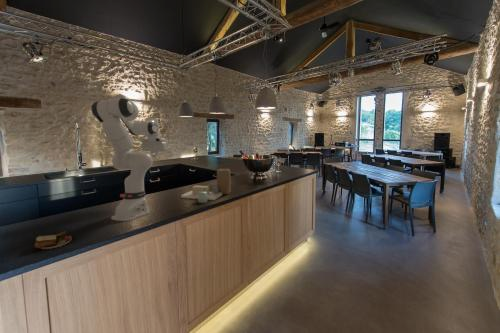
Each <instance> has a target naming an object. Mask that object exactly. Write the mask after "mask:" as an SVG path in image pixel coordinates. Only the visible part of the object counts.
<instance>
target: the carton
mask: <svg viewBox="0 0 500 333" xmlns="http://www.w3.org/2000/svg"><path fill="white" fill-rule="evenodd" d="M191 191H192V194H195V195H198V192H200V191H206V192H207V194H209V192H210V185H198V184H197V185H196V184H195V185H193V186H192V187H191Z"/></svg>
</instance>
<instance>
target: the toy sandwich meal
mask: <svg viewBox="0 0 500 333" xmlns="http://www.w3.org/2000/svg"><path fill="white" fill-rule="evenodd" d="M65 234H66V231H63V232H60V233H57V234H50V235H38V236H37V237H36V238H35V242H34V244H33V245H34V247H35V249H41V250H52V249H53V248H54V249H57V247H58V248H62V247H64V246H66V245H68V244H69V243H70V242H71V241H72V236H71V235H68V236H67V235H65ZM67 243H68V244H67ZM65 244H66V245H65ZM63 245H64V246H63ZM54 249H53V250H54Z"/></svg>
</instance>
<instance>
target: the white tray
mask: <svg viewBox="0 0 500 333" xmlns="http://www.w3.org/2000/svg"><path fill="white" fill-rule="evenodd" d="M221 196H223V194H222V193H220V192H219V193H218V194H213V191H209V194H207V201H215V200H217V199H219V198H220V197H221ZM180 198H181V199H193V200H198V195H195V194H192V190H190V191H188V192H185V193H184V194H181V195H180Z"/></svg>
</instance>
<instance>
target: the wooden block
mask: <svg viewBox="0 0 500 333" xmlns="http://www.w3.org/2000/svg"><path fill="white" fill-rule="evenodd" d="M231 174H232V173H231V168H218V169H217V170H216V187H219V192H220V193H222V195H229V194H230V193H231V191H232V184H231V183H232V180H231V179H232V178H231V177H232V176H231Z"/></svg>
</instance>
